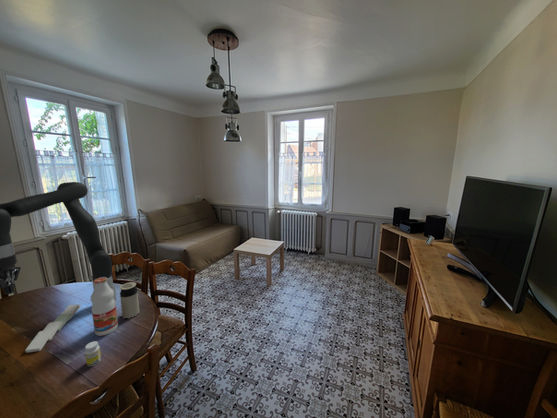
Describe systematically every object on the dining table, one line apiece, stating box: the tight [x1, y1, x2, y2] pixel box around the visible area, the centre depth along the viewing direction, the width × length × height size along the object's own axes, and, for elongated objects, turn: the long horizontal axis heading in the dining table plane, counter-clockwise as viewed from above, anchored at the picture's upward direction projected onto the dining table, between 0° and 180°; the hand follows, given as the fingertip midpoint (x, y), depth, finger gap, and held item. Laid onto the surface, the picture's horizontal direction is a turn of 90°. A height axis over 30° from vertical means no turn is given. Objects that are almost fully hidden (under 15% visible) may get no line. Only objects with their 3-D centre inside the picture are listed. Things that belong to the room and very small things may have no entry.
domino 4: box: [53, 313, 73, 332], centre depth 112 cm, size 2×5×9 cm
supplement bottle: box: [84, 340, 102, 367], centre depth 91 cm, size 5×5×8 cm
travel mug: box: [119, 281, 140, 319], centre depth 121 cm, size 8×8×18 cm
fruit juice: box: [90, 277, 119, 337], centre depth 108 cm, size 9×9×28 cm
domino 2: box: [42, 321, 62, 342], centre depth 106 cm, size 2×5×9 cm
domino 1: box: [25, 330, 53, 353], centre depth 100 cm, size 2×5×9 cm
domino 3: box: [61, 304, 81, 321], centre depth 120 cm, size 2×5×9 cm
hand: (9, 293), depth 92 cm, fingers closed
